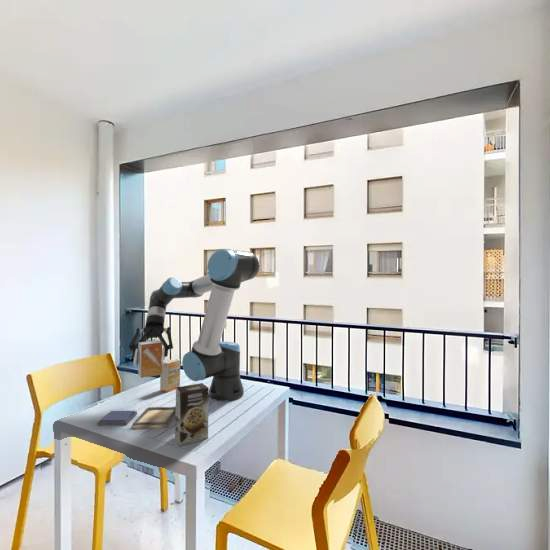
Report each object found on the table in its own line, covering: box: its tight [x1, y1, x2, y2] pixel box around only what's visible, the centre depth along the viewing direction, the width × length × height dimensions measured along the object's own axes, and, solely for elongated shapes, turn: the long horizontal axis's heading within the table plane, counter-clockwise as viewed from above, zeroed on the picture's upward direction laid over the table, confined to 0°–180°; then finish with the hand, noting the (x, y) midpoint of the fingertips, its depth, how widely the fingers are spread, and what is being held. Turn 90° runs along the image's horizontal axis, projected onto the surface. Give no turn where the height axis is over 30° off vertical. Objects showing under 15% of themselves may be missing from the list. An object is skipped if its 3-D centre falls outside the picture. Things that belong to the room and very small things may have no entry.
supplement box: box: [159, 358, 181, 393], centre depth 146 cm, size 8×5×13 cm, turn 154°
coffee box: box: [174, 382, 210, 446], centre depth 101 cm, size 9×6×16 cm
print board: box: [131, 406, 176, 429], centre depth 114 cm, size 12×14×2 cm
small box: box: [137, 339, 163, 379], centre depth 127 cm, size 8×6×13 cm
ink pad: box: [96, 410, 138, 426], centre depth 114 cm, size 10×9×2 cm
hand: (148, 364), depth 124 cm, fingers closed on small box, 10 cm apart
